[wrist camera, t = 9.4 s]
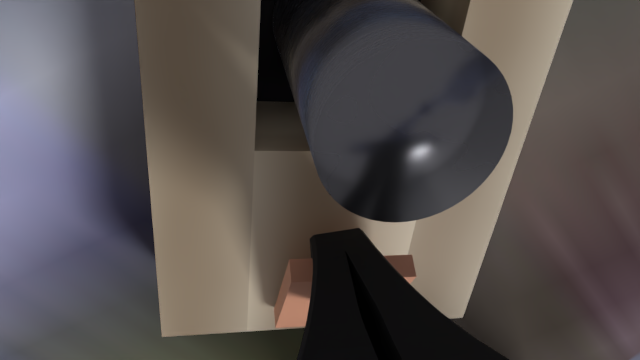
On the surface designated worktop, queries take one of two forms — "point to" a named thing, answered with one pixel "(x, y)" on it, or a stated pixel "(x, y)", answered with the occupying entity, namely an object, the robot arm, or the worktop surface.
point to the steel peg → (392, 104)
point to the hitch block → (295, 163)
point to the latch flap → (299, 282)
